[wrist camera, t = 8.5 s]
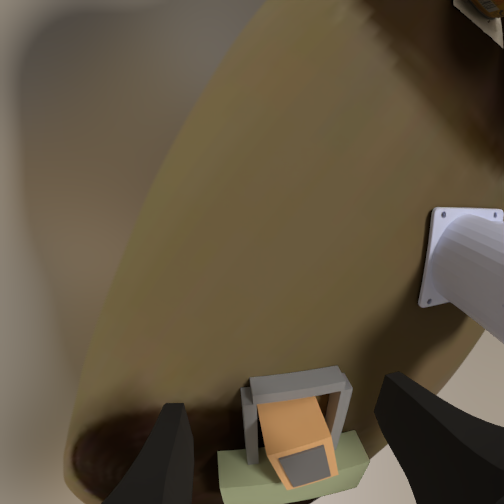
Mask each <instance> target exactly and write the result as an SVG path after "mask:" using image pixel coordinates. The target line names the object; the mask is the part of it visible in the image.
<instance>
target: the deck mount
mask: <svg viewBox="0 0 504 504" xmlns="http://www.w3.org/2000/svg"><path fill="white" fill-rule="evenodd" d="M352 390H353V388H352V386H351V384H350V382H349V380H348V379H347V377H346V375H345V373H341V371H340V369H339V367H338V366H331V367H326V368H320V369H313V370H307V371H300V372H293V373H286V374H278V375H270V376H261V377H251V378H250V387H242V388H241V401H242V413H243V425H244V436H245V447H246V449H241V450H228V451H217V455H218V471H219V485H220V491H221V494H222V498H223V501H224V504H285V503H291V502H297V501H302V500H307V499H312V498H317V497H321V496H325V495H329V494H333V493H337V492H341V491H345V490H348V489H352V488H355V487H357V485H358V484H359V482H360V480H361V478H362V476H363V474H364V472H365V471H366V469H367V467H368V465H369V463H370V460H369V458H368V456H367V454H366V452H365V450H364V448H363V445H362V443H361V441H360V439H359V437H358V435H357V433H356V431H355V430H352V431H348V432H344V433H341V432H342V428H343V425H344V421H345V417H346V414H347V410H348V406H349V402H350V398H351V394H352ZM329 393H330V395H329V400H328V405H327V410H326V415H325V422H326V424H327V427H328V429H329V432H330V434H331V437H332V442H333V447H334V452H335V458H336V463H337V469H338V474H339V475H336V476H333V477H331V478H328V479H325V480H322V481H318V482H315V483H312V484H309V485H305V486H302V487H298V488H295V489H291V490H286V488H285V486H284V485H283V483H282V481H281V480H280V478H279V476H278V474H277V473H276V471H275V469H274V468H273V466H272V464H271V462H270V461H269V459H268V457H267V454H266V449H265V447H261V448H258V429H257V404H264V403H272V402H280V401H287V400H294V399H300V398H307V397H312V396H318V395H323V394H329Z"/></svg>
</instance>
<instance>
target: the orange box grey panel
mask: <svg viewBox="0 0 504 504" xmlns="http://www.w3.org/2000/svg"><path fill="white" fill-rule="evenodd" d="M257 408H258V413H259V419H260V424H261V429H262V434H263V439H264V444H265V449H266V454H267V457H268V459H269V461H270V462H271V464H272V466H273V468H274V469H275V471H276V473H277V474H278V476H279V478H280V480H281V481H282V483H283V485H284V486H285V488H286V490H291V489H295V488H298V487H302V486H305V485H309V484H312V483H315V482H318V481H322V480H325V479H328V478H331V477H333V476H336V475H339V474H338V469H337V463H336V458H335V452H334V447H333V442H332V437H331V434H330V432H329V429H328V427H327V424H326V422H325V419H324V417H323V414H322V412H321V410H320V407H319V405H318V402H317V400H316V397H315V396H312V397H307V398H300V399H294V400H287V401H280V402H272V403H264V404H257Z"/></svg>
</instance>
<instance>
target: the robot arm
mask: <svg viewBox="0 0 504 504" xmlns="http://www.w3.org/2000/svg"><path fill="white" fill-rule="evenodd" d="M442 212H443V215H442V217H441V214H442ZM503 214H504V213H503V210H501V209H489V208H455V207H436V208H434V209H433V211H432V214H431V223H430V233H429V241H428V248H427V255H426V262H425V268H424V274H423V280H422V285H421V290H420V295H419V300H418V305H419V306H420V307H422V308H425V307H430V306H434V305H439V304H443V303H448V302H451V303H452V304H454V305H455V306H456V307H458V308H459V309H460V310H462V311H463V312H464V313H465V314H467V315H468V316H469V317H471V318H472V319H473V320H475V321H476V322H477V323H478V324H480V325H481V326H482V327H483V328H485V329H486V330H487V331H489V332H490V333H491V334H492V335H493V336H495V337H496V338H497V339H498V340H500V341H501V342H502V343H503V344H504V222H503ZM428 300H429V301H428ZM374 413H375V415H376V418H377V421H378V424H379V426H380V429H381V431H382V433H383V435H384V437H385V439H386V441H387V442H388V444H389V446H390V448H391V449H392V451H393V453H394V455H395V457H396V458H397V460H398V462H399V464H400V466H401V467H402V469H403V471H404V472H405V475H406V477H407V479H408V481H409V484H410V486H411V489H412V492H413V494H414V497H415V500H416V503H417V504H504V427H501V426H498V425H494V424H492V423H489V422H486V421H484V420H481V419H479V418H476V417H474V416H472V415H470V414H468V413H466V412H464V411H462V410H460V409H458V408H456V407H454V406H453V405H451V404H449V403H448V402H446V401H444V400H442V399H441V398H439V397H438V396H436V395H435V394H433V393H431V392H430V391H428V390H427V389H425V388H424V387H422V386H421V385H419V384H418V383H416V382H415V381H413V380H412V379H410V378H409V377H407V376H405V375H404V374H402V373H401V372H399V371H398V372H395V373H391V374H387V375H385V378H384V381H383V384H382V388H381V391H380V394H379V397H378V400H377V403H376V406H375V409H374ZM193 473H194V444H193V435H192V432H191V428H190V425H189V421H188V418H187V414H186V410H185V406H184V403H166V404H165V405H164V406H163V408H162V410H161V413H160V415H159V417H158V419H157V421H156V423H155V425H154V427H153V429H152V431H151V433H150V435H149V437H148V439H147V440H146V442H145V444H144V446H143V448H142V449H141V451H140V453H139V454H138V456H137V458H136V459H135V461H134V462H133V464H132V465H131V467H130V468H129V470H128V471H127V473H126V474H125V476H124V477H123V478H122V480H121V481H120V482H119V484H118V485H117V486H116V487H115V489H114V490H113V491H112V492H111V494H110V495H109V496H108V497H107V498H106V499H105V500H104V501H103V502H102V503H101V504H191V501H192V487H193Z"/></svg>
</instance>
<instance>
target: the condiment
mask: <svg viewBox="0 0 504 504" xmlns="http://www.w3.org/2000/svg"><path fill="white" fill-rule="evenodd" d="M453 2H454V6H455V7H456V8H458V9H459V10H460V11H461V12H462V13H463V14H464V15H466V16H467V17H468V18H469V19H471V20H472V22H474V23H475V24H476V25H477V26H478V27H480V28H481V29H482V30H483V31H484V32H485V33H486V34H488V35H489V36H490V37H491V38H492V39H493V40H494V41H495V42H497V43H498V44H499V45H500V46H501V47H502V48H503V37H502V36H503V33H502V25H501V20H500V18H501V17H504V0H453ZM489 20H490V22H489V23H488V22H487V21H489Z"/></svg>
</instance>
